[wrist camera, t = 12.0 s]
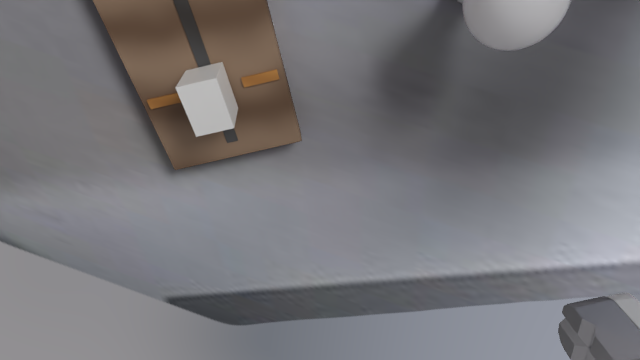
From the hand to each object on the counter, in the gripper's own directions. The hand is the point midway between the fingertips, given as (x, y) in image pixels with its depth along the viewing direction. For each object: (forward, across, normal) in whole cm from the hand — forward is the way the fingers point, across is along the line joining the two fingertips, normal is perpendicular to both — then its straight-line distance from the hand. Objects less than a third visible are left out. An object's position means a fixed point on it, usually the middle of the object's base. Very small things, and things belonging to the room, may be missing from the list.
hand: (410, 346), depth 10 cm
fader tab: (+26, +9, 0) cm, 27 cm away
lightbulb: (+28, -13, -3) cm, 31 cm away
